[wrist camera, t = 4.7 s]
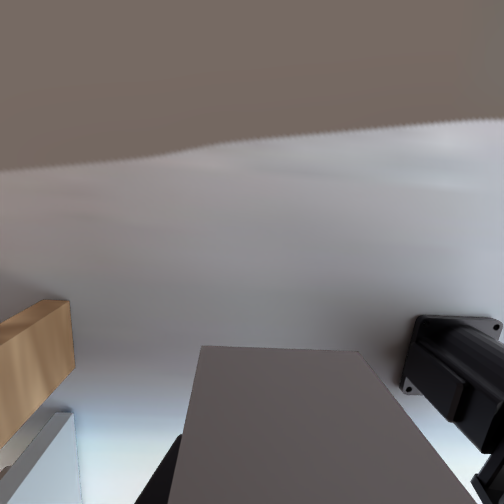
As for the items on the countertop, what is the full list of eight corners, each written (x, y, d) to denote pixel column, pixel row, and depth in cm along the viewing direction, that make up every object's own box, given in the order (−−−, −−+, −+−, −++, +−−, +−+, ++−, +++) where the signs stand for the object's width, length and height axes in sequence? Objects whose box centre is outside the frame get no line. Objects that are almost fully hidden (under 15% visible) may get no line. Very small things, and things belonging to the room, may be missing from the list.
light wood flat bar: (72, 300, 16) (-46, 379, 9) (93, 548, 21) (27, 715, 14) (39, 299, 16) (-106, 378, 9) (69, 549, 21) (-9, 718, 14)
